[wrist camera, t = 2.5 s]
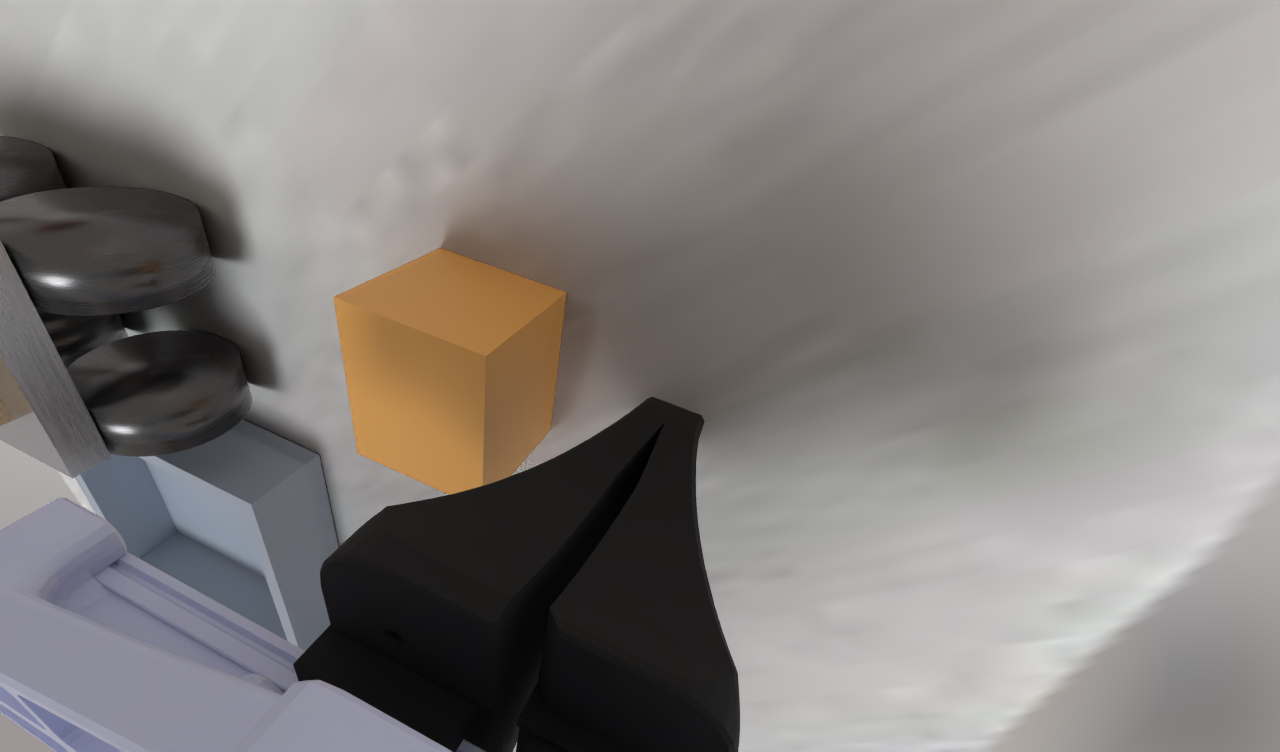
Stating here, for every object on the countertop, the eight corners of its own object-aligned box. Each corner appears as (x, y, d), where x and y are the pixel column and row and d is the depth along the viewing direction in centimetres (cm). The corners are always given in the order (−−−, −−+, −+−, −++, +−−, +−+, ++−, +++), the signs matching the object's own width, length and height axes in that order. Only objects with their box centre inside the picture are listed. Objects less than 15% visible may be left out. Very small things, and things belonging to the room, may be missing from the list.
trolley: (281, 401, 20) (51, 539, 14) (77, 309, 22) (-195, 399, 16) (236, 214, 16) (-107, 305, 10) (-10, 123, 18) (-407, 158, 12)
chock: (552, 427, 16) (482, 509, 13) (446, 383, 16) (357, 453, 14) (569, 290, 13) (485, 356, 10) (443, 246, 14) (333, 297, 11)
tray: (353, 615, 27) (305, 667, 25) (184, 526, 29) (126, 566, 27) (319, 454, 21) (251, 504, 18) (107, 356, 23) (24, 390, 21)
